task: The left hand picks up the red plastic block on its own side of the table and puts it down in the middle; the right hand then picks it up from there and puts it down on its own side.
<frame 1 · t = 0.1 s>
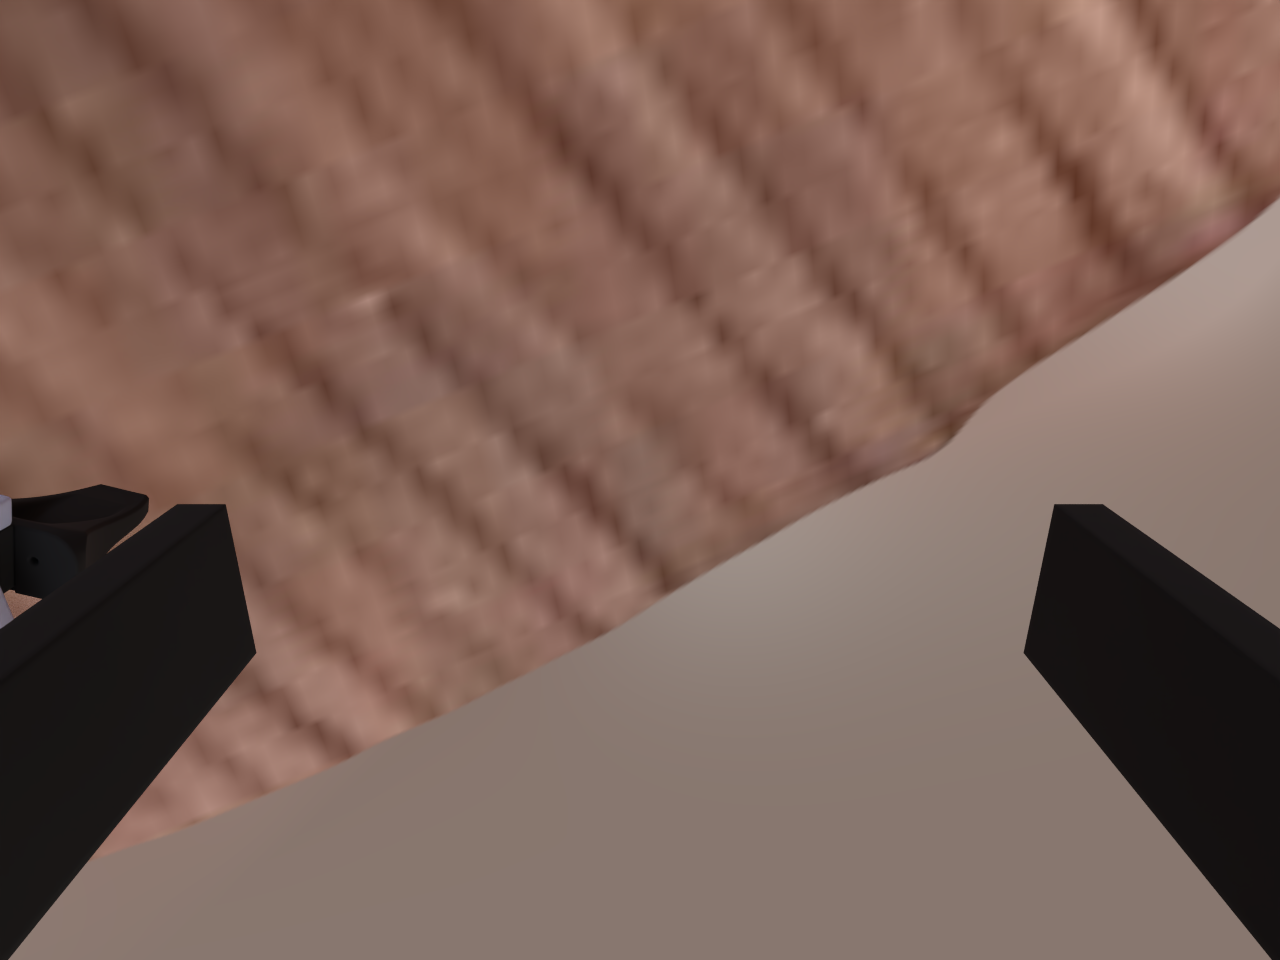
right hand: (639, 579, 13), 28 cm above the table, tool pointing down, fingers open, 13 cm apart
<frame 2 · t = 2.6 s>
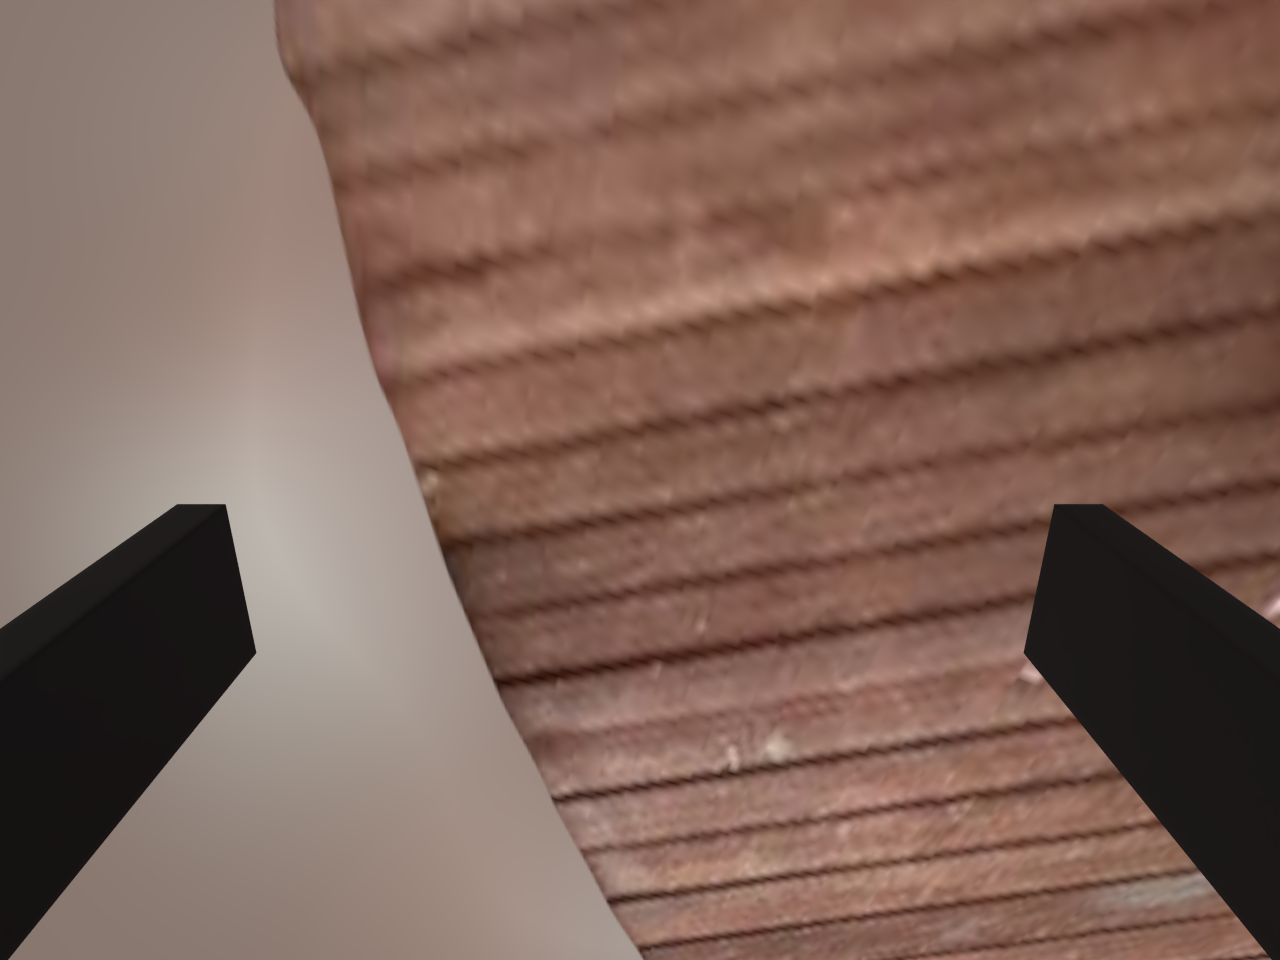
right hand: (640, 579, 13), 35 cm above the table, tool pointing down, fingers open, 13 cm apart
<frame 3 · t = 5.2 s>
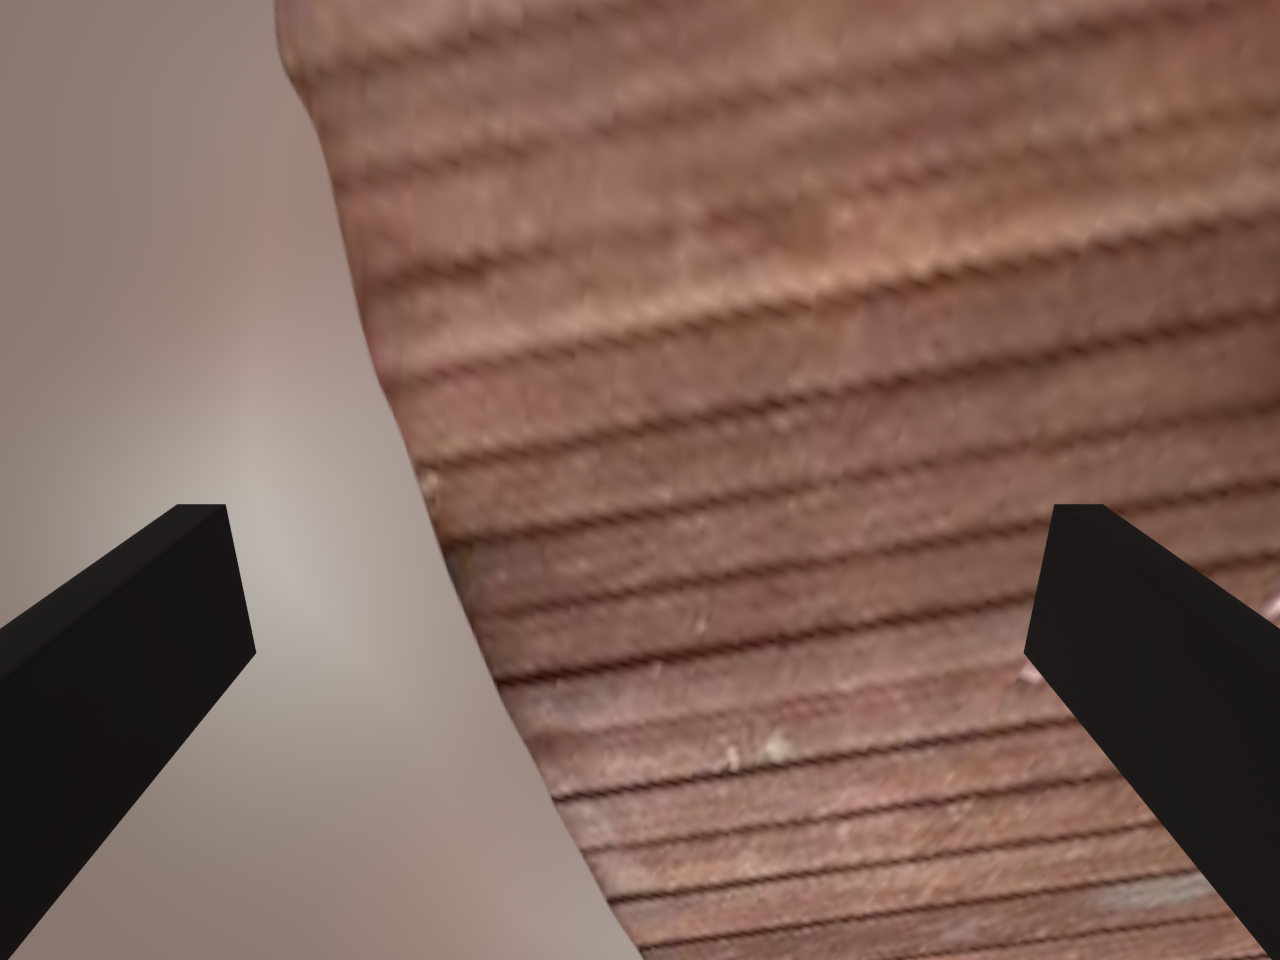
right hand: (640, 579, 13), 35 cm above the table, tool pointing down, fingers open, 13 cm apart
when the left hand's fingers open (2 cm above the table, at t = 7.8 s): block stays where it is, on the table.
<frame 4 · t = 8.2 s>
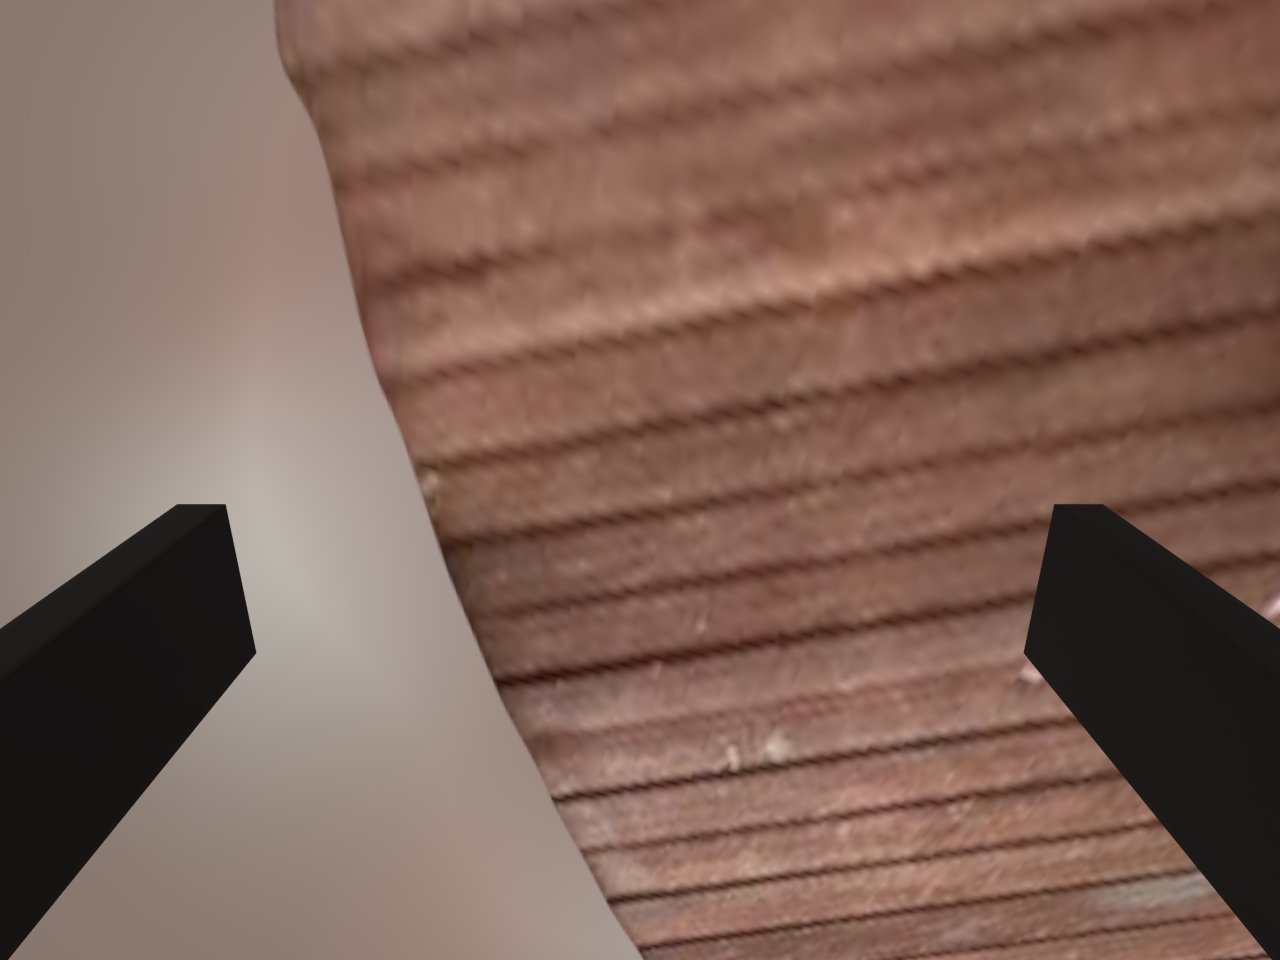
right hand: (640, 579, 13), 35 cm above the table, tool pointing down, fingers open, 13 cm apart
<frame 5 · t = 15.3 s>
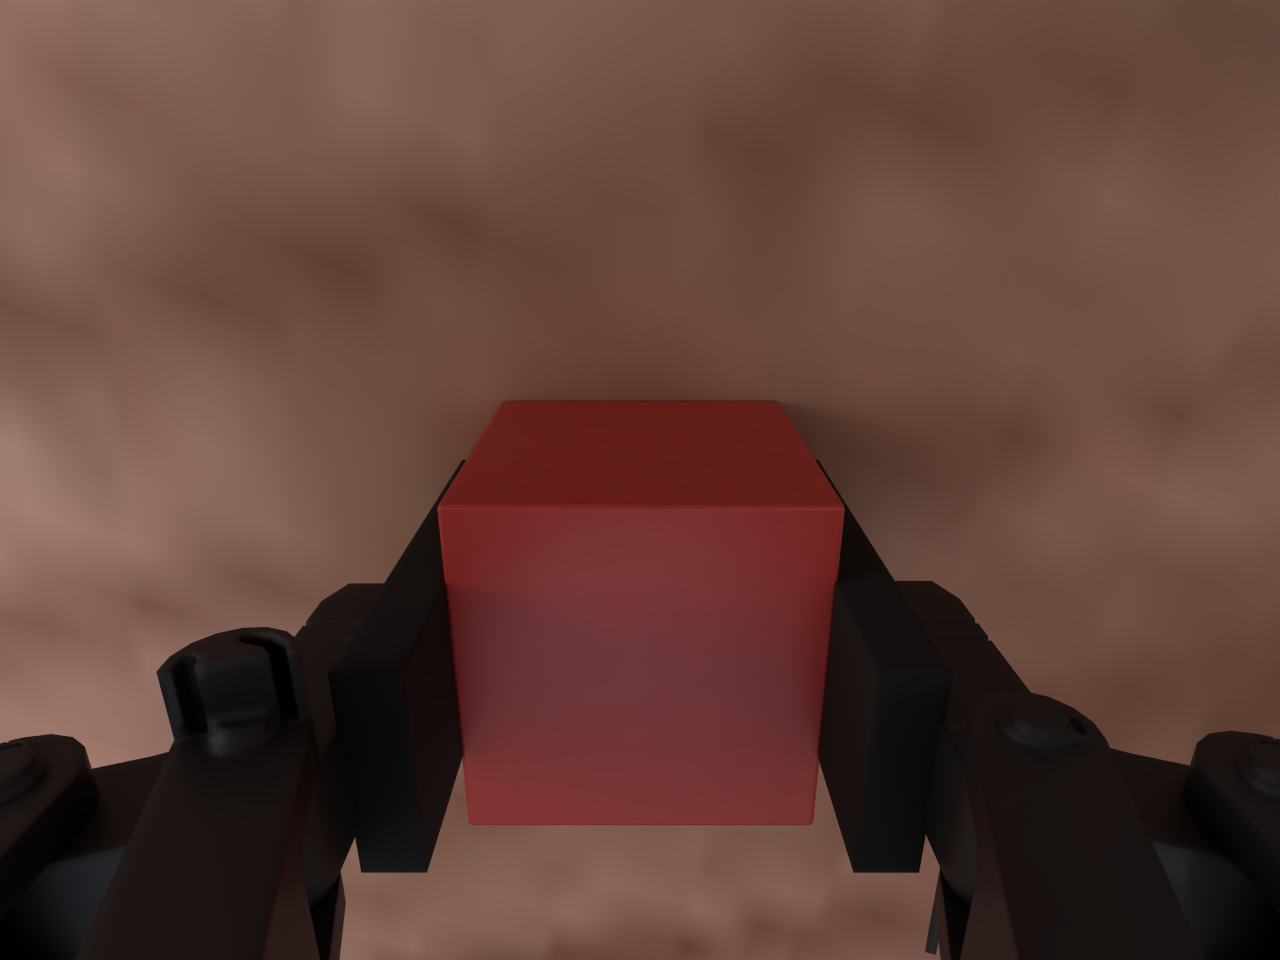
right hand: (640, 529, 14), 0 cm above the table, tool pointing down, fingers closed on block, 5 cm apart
block: (640, 527, 15), on the table, touching right hand
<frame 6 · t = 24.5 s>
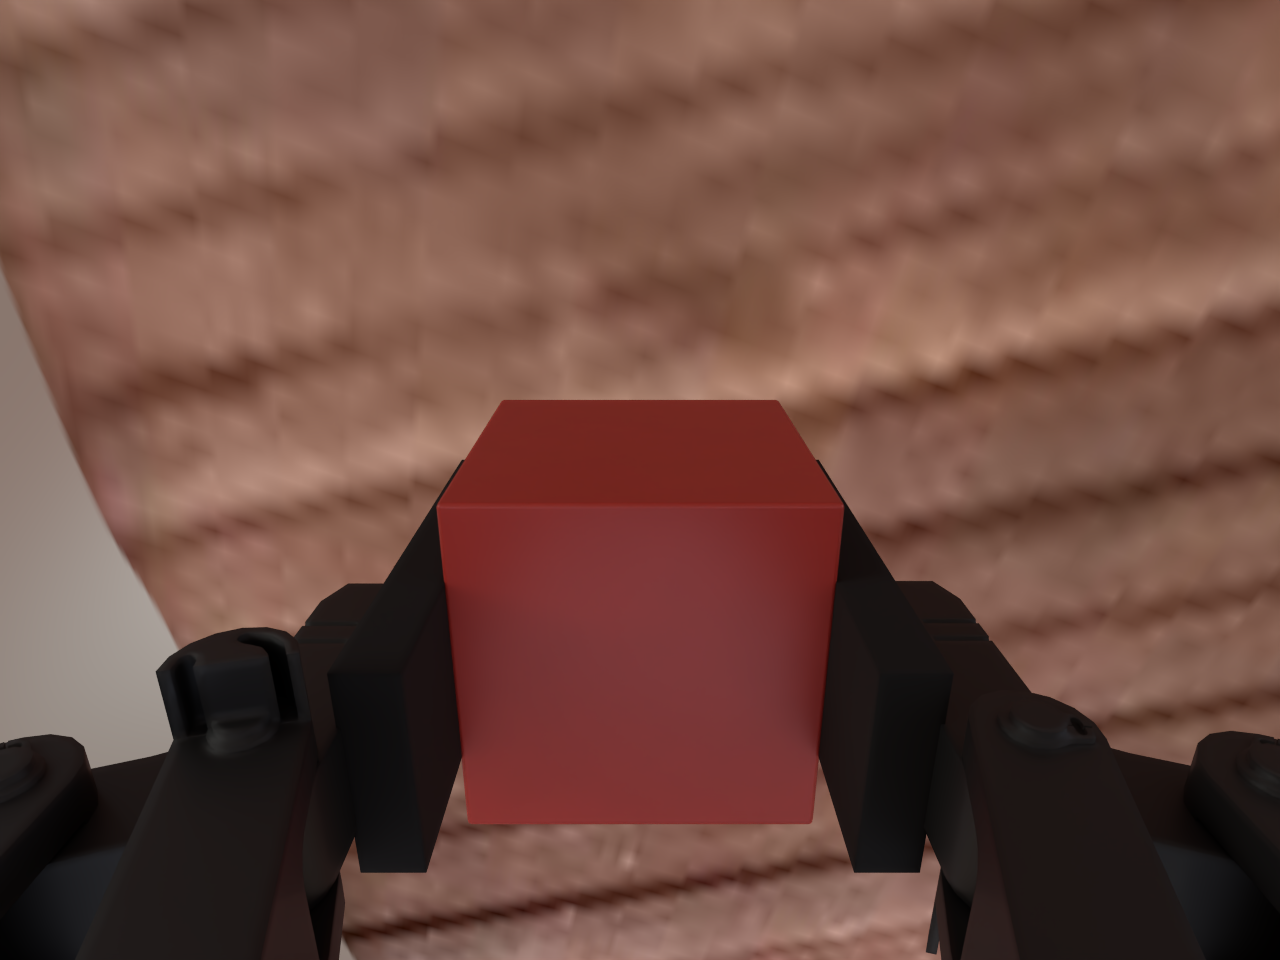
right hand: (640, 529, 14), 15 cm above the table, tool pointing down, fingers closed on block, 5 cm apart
block: (640, 526, 15), point 15 cm above the table, touching right hand
when the right hand's fingers open (1 cm above the table, at t = 34.0 s): block stays where it is, on the table.
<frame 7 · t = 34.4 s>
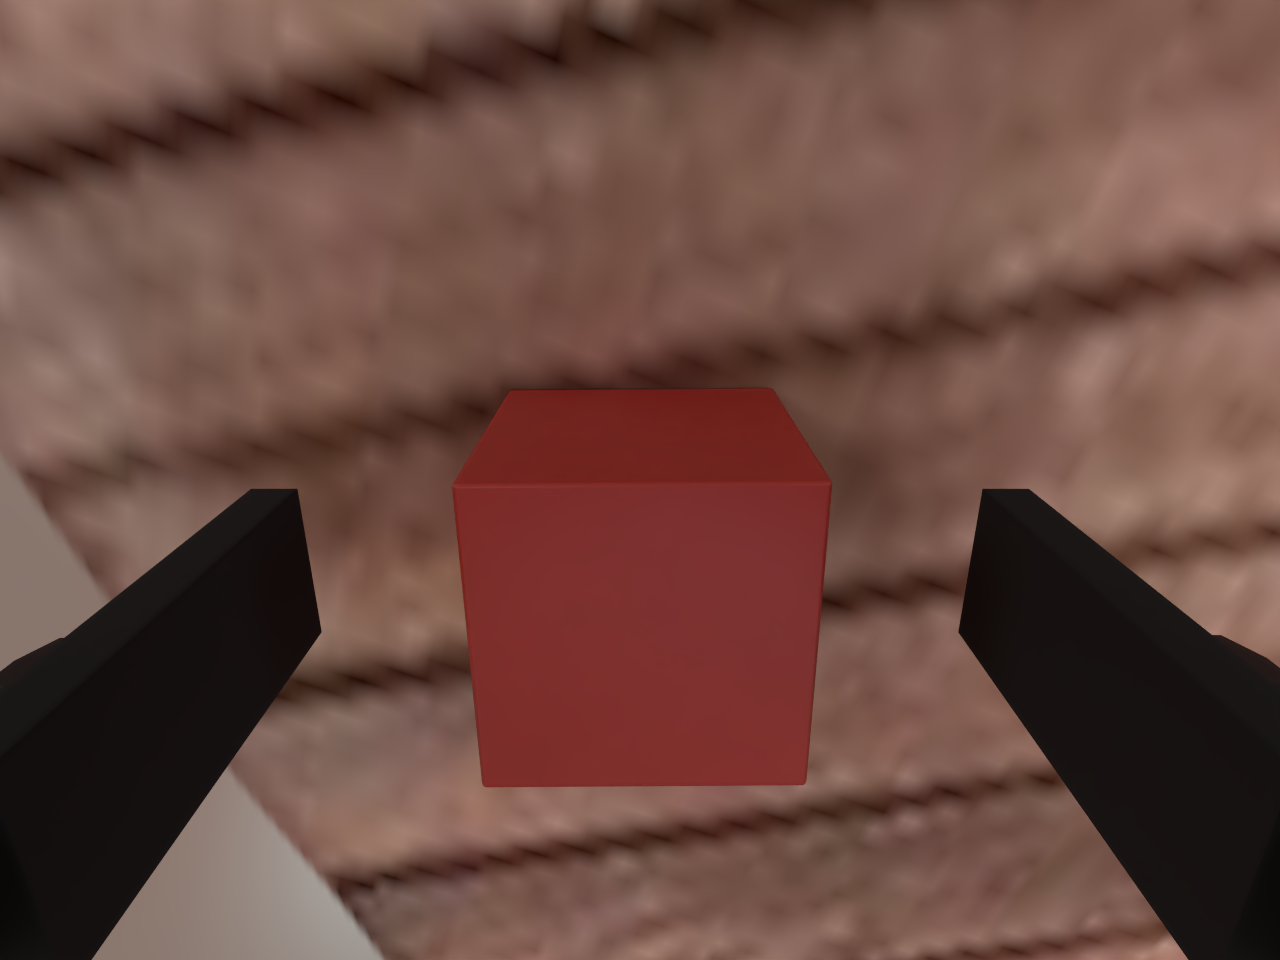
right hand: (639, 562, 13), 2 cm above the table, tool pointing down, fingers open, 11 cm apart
block: (642, 510, 15), on the table
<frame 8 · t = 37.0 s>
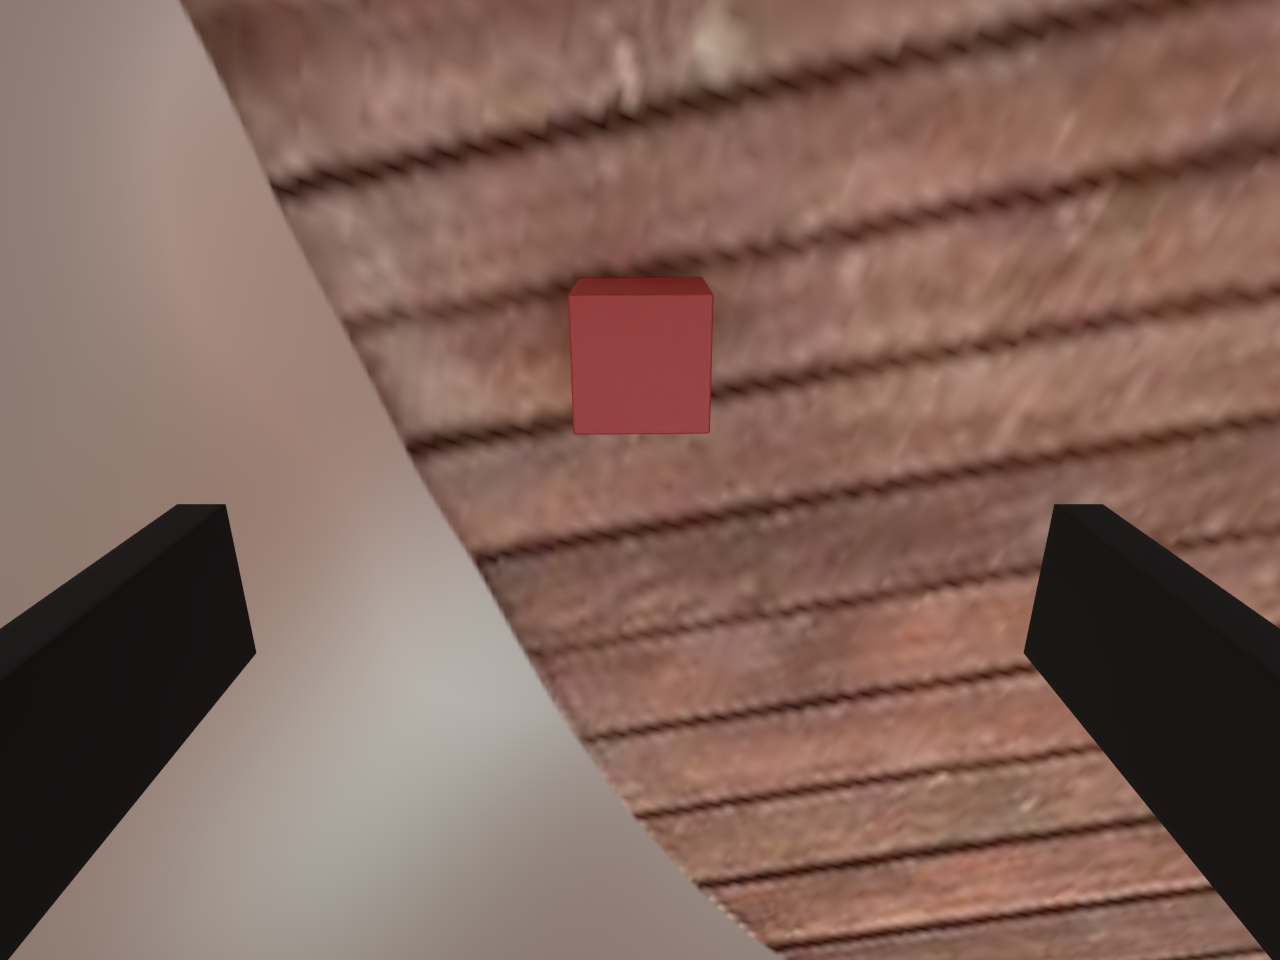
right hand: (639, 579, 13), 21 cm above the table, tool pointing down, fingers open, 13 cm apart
block: (640, 340, 32), on the table
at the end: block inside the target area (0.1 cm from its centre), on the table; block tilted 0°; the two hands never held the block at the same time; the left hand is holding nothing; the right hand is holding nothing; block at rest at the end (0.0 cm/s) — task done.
